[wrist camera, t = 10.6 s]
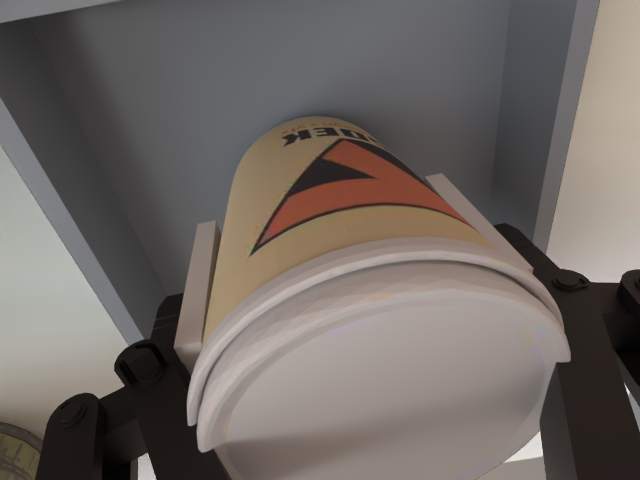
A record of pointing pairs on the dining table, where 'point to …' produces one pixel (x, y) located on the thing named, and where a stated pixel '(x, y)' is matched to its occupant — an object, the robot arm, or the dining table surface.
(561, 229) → the dining table surface
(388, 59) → the tray
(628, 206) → the dining table surface
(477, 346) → the coffee cup
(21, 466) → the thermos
